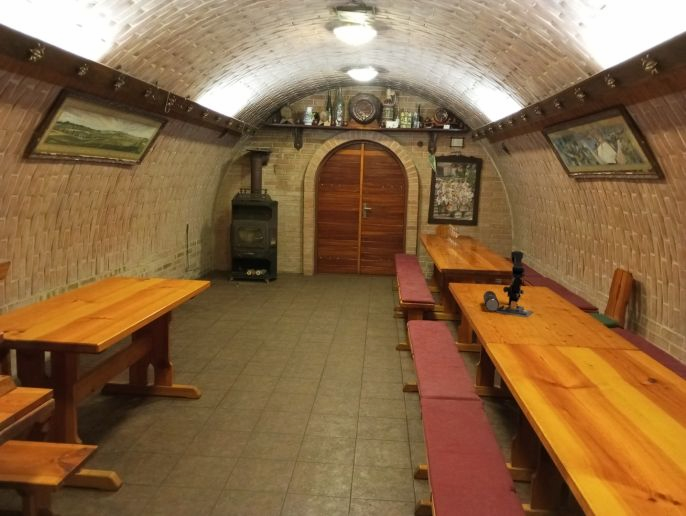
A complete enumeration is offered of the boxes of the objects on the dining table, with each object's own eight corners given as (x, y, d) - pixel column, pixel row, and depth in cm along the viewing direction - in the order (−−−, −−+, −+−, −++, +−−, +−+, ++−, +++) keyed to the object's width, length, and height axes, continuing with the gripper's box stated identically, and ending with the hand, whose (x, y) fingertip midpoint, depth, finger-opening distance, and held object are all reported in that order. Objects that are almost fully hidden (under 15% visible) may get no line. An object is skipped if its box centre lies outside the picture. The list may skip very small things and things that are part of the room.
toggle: (511, 310, 388) (512, 300, 387) (516, 311, 386) (517, 301, 385) (509, 311, 386) (510, 301, 385) (514, 312, 384) (515, 302, 383)
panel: (502, 307, 402) (502, 306, 401) (533, 313, 390) (533, 311, 390) (495, 312, 388) (495, 310, 388) (527, 317, 377) (527, 315, 377)
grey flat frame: (502, 306, 400) (502, 305, 400) (531, 311, 390) (531, 309, 389) (496, 310, 388) (496, 308, 388) (526, 315, 377) (526, 313, 377)
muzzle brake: (496, 304, 412) (496, 290, 411) (499, 313, 385) (499, 298, 384) (482, 303, 414) (483, 290, 413) (484, 312, 387) (485, 297, 386)
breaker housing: (510, 308, 397) (510, 304, 397) (527, 310, 391) (527, 307, 390) (505, 311, 386) (505, 308, 386) (522, 314, 380) (523, 310, 379)
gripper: (508, 280, 398) (507, 301, 400) (501, 283, 382) (499, 306, 384) (524, 282, 392) (522, 304, 394) (517, 286, 376) (515, 308, 378)
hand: (514, 305), depth 388 cm, fingers closed
